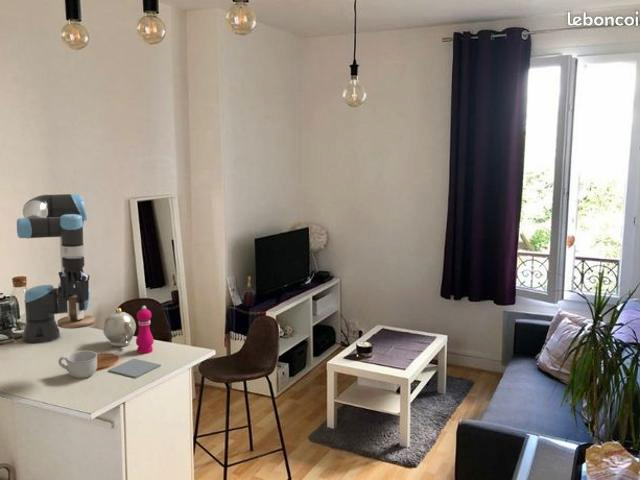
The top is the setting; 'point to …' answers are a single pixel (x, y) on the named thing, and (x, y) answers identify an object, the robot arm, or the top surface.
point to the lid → (75, 317)
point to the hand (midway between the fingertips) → (75, 317)
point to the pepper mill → (144, 332)
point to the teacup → (80, 363)
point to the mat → (134, 368)
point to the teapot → (119, 328)
